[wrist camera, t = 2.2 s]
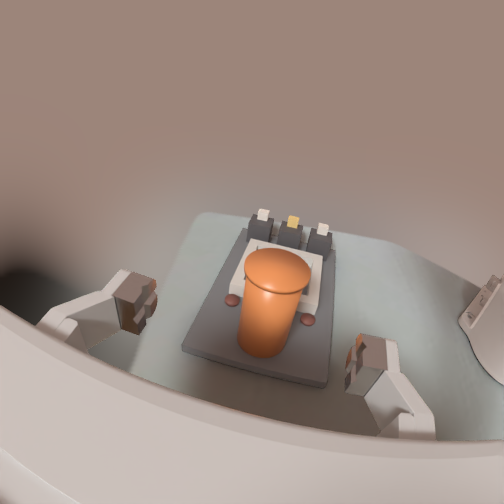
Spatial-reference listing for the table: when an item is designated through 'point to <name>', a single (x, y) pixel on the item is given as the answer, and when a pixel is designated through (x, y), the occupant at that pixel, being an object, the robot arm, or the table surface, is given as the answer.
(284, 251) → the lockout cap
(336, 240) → the table surface
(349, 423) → the table surface
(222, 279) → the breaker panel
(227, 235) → the table surface
